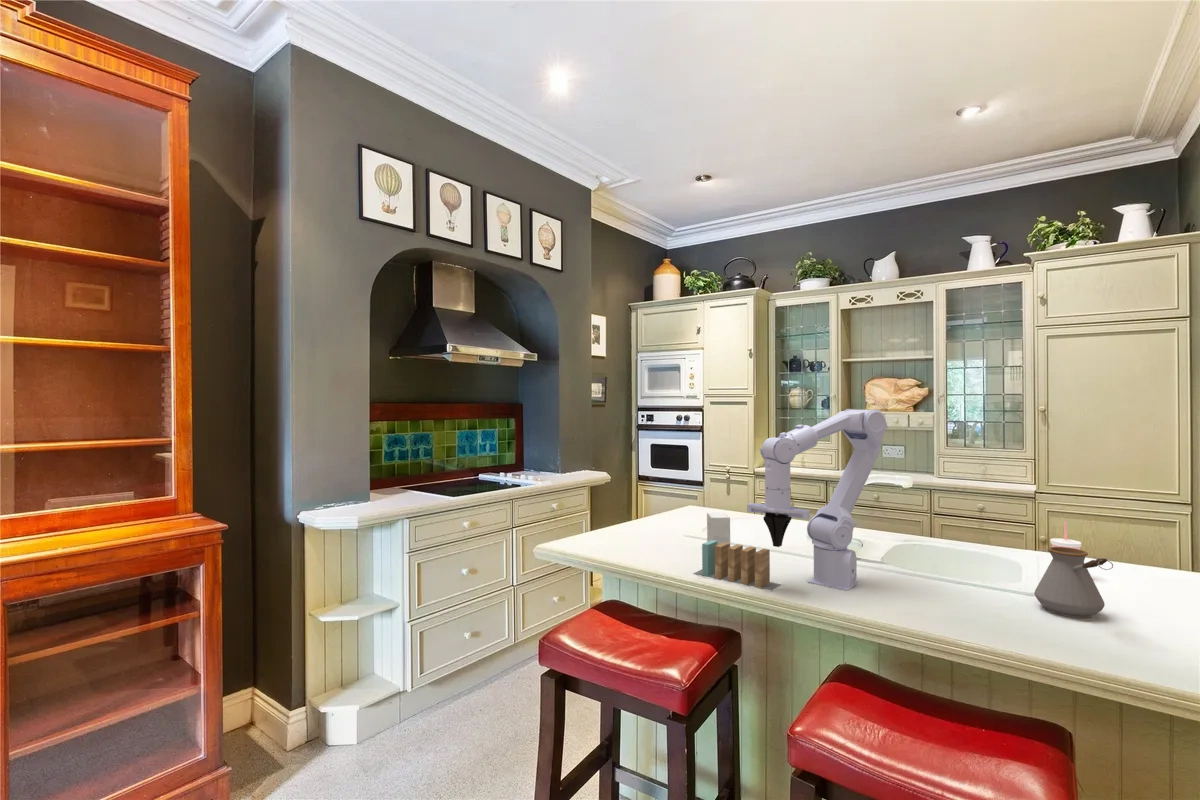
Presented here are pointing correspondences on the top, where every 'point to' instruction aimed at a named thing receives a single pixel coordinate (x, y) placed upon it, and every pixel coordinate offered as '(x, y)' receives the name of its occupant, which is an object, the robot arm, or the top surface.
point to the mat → (769, 586)
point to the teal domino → (708, 558)
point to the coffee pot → (1070, 584)
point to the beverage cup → (1065, 541)
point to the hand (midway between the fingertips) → (777, 545)
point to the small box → (718, 527)
